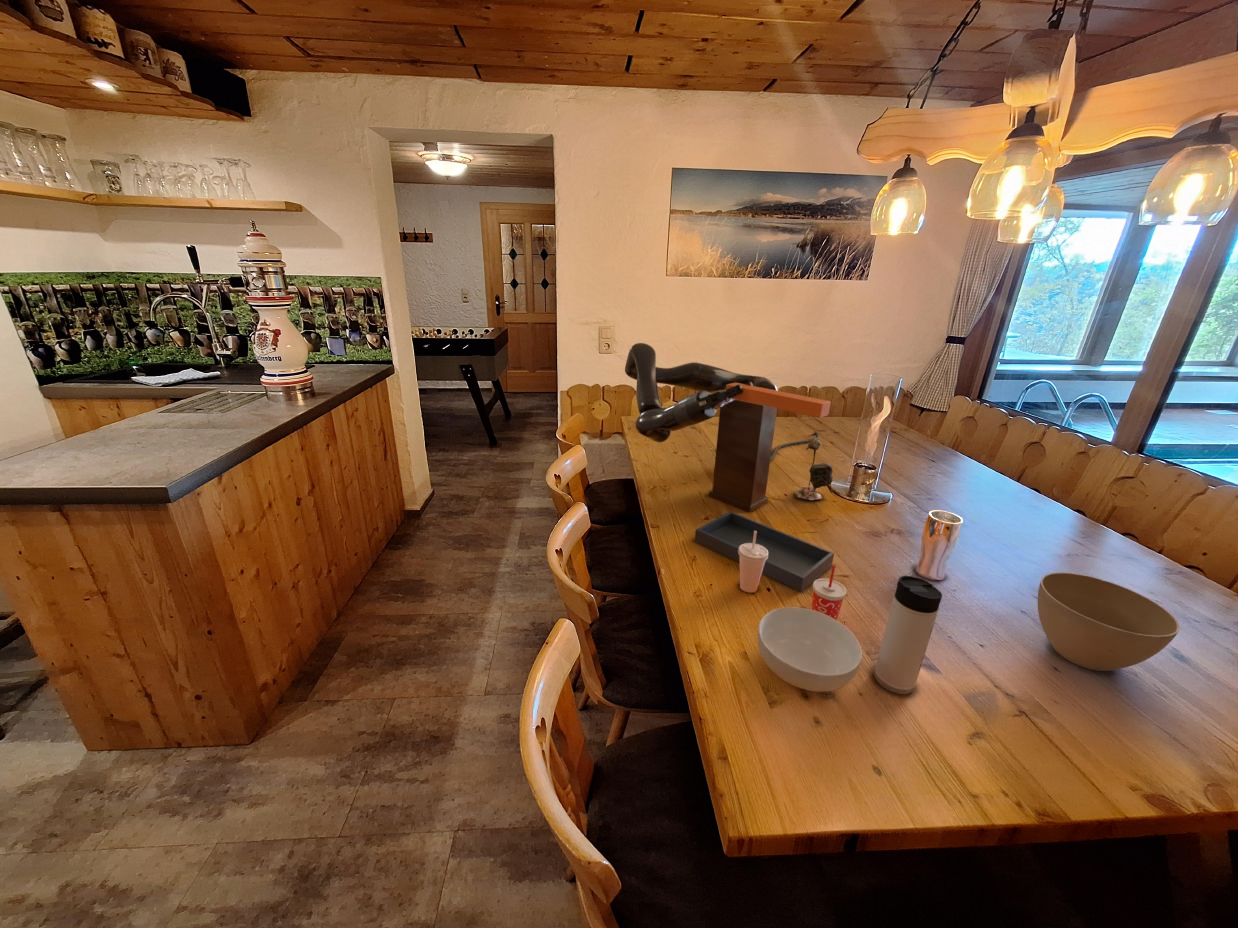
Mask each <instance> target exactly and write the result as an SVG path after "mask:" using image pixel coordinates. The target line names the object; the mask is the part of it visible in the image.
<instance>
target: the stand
mask: <svg viewBox="0 0 1238 928" xmlns="http://www.w3.org/2000/svg"><path fill="white" fill-rule="evenodd" d="M728 401H729V400H728ZM777 414H778V409H777V408H773V407H769V406H764V405H760V404H755V403H751V402H746V401H742V400H737V399H736V400H735V401H733V402H730V403H728V404H725V406H723V407H720V408H719V414H718V415H719V416H718V427H717V437H716V449H715V460H714V467H713V468H714V469H713V478H712V479H713V481H712V489H711V490H709V491H708V497H710V498H713V499H716V500H718V501H721V502H724V503H726V504H729V505H731V506H734V507H736V508H738V509H742V510H744V511H746V512H749V513H750V512H753V511H754V510H756V509H758V508H760V507H761V506H763V505H765V504H767V503H768V501H769V496H766V493H767V486H768V478H769V473H770V471H769V470H770V464H771V460H770V458H771V455H772V449H773V442H774V435H775V428H776V420H777Z"/></svg>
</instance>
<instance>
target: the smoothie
mask: <svg viewBox="0 0 1238 928" xmlns="http://www.w3.org/2000/svg"><path fill="white" fill-rule="evenodd" d="M756 534H757V531H754V536H753V543H745V544H742V545H740V546H739V550H738V554H739V560H740V563H739V588H740V589H741V590H742V591H743V592H745V593H755V592H757V590H758V587H759V583H760V580H761V577H762V575H763V574H762V571H763V567H764V564H765V561H766V559H767V558H768V550H767V549H766V548H765V547H763V546H761V545H759V544H755V541H756Z"/></svg>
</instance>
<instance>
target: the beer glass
mask: <svg viewBox="0 0 1238 928" xmlns="http://www.w3.org/2000/svg"><path fill="white" fill-rule="evenodd" d="M963 523H964V521H963V518H962V517H960V516H959V515H957V514H956V513H953V512H949V511H946V510H940V509H939V510H938V509H937V510H935V509H934V510H931V511H929V512H928V515H927V518H926V520H925V523H924V526H923V530H922V534H921V549H920V556H919V560H918V561H917V563H916V565H915V567H914V571H915V573H917V574H918V575H919V576H921V577H922V578H925V579H928V580H931V581H941V580H944V579H945V577H946V566H947V563H948V561H949V559H950V558H951V555H952V554H953V552H954V550H955V548H956V546H957V545H958V542H959V538H960V535H961V532H962V527H963Z"/></svg>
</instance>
